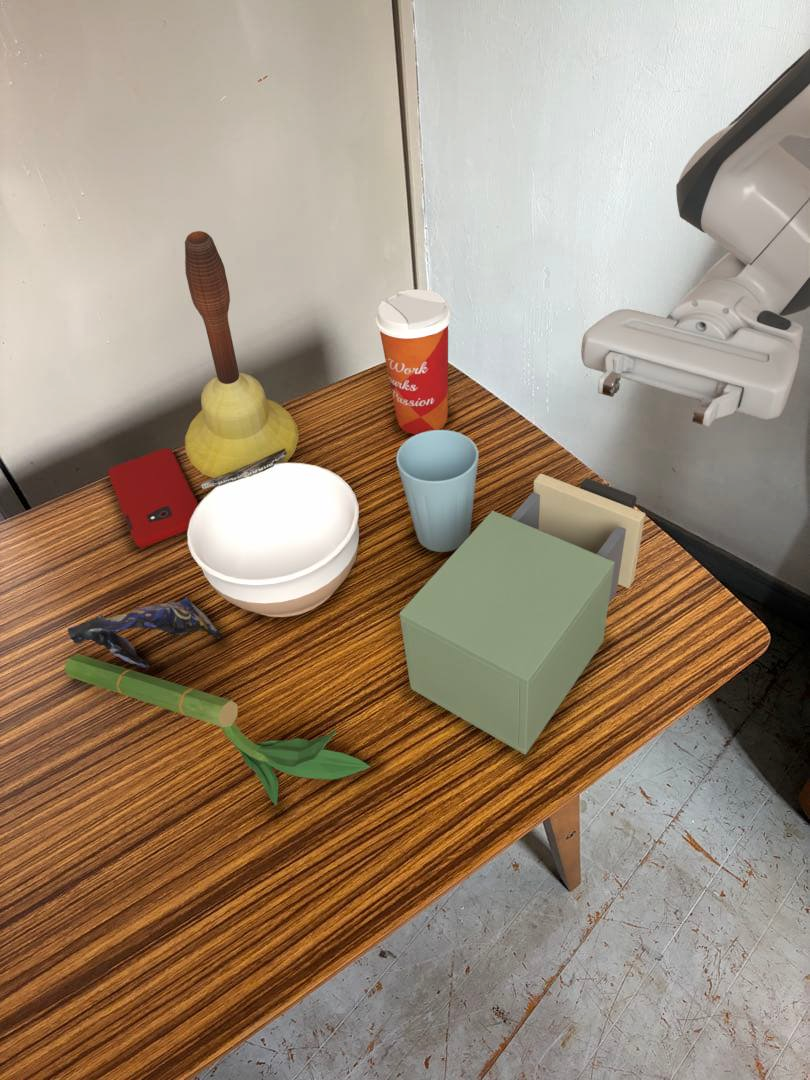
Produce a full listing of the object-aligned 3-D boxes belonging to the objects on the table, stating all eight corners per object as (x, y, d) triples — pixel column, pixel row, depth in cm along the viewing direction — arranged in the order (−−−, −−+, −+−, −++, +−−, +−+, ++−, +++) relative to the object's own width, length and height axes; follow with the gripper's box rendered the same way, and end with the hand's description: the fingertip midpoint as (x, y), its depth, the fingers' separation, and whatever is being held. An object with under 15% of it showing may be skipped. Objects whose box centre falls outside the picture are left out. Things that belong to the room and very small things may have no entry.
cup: (447, 572, 77) (441, 493, 70) (390, 538, 81) (379, 460, 74) (495, 529, 81) (495, 449, 74) (439, 498, 85) (432, 420, 78)
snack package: (100, 616, 77) (219, 591, 78) (109, 682, 76) (230, 656, 76) (46, 600, 65) (186, 570, 66) (56, 677, 64) (199, 646, 65)
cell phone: (105, 467, 92) (108, 474, 93) (134, 544, 83) (137, 550, 83) (169, 444, 94) (172, 451, 95) (205, 516, 85) (207, 523, 85)
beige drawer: (560, 511, 81) (565, 445, 75) (655, 550, 76) (668, 482, 70) (468, 623, 72) (464, 557, 66) (569, 674, 67) (575, 609, 61)
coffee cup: (374, 421, 96) (357, 309, 85) (423, 391, 99) (413, 279, 88) (422, 450, 91) (411, 335, 80) (472, 417, 94) (467, 302, 84)
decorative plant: (97, 623, 74) (364, 695, 58) (130, 689, 78) (387, 771, 63) (44, 666, 69) (317, 755, 54) (82, 733, 74) (345, 833, 58)
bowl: (223, 661, 72) (199, 605, 66) (198, 545, 83) (176, 488, 77) (390, 607, 75) (380, 549, 69) (344, 501, 86) (333, 444, 80)
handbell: (196, 494, 82) (133, 298, 61) (175, 410, 88) (112, 207, 68) (311, 466, 84) (289, 268, 64) (283, 386, 91) (254, 183, 70)
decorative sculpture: (303, 441, 93) (225, 472, 93) (301, 437, 92) (223, 468, 93) (276, 465, 73) (178, 505, 74) (274, 460, 73) (176, 500, 74)
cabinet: (493, 589, 75) (492, 510, 68) (603, 641, 70) (615, 561, 63) (410, 689, 68) (399, 613, 61) (525, 755, 63) (528, 681, 56)
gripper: (618, 282, 84) (553, 345, 76) (821, 329, 74) (769, 407, 67) (612, 335, 88) (551, 399, 81) (803, 386, 78) (752, 464, 71)
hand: (651, 403), depth 74 cm, fingers open, 8 cm apart
